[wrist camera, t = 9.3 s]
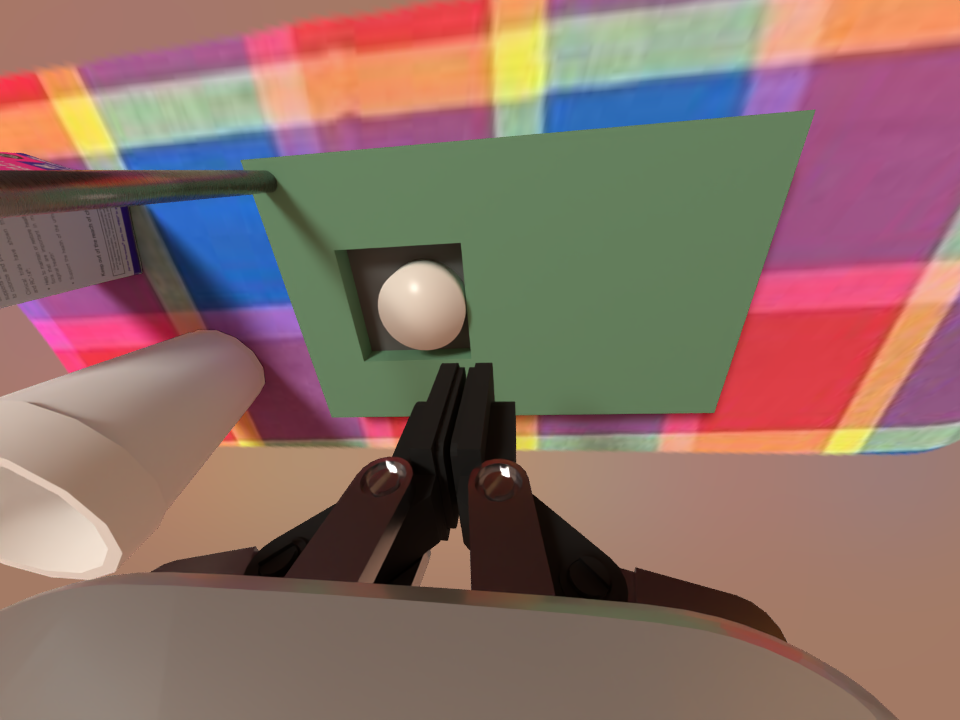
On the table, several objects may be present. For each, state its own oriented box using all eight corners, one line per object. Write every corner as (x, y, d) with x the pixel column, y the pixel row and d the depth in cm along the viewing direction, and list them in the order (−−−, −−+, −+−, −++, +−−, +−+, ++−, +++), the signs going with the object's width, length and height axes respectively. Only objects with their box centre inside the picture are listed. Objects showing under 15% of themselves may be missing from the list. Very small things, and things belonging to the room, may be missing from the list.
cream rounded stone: (459, 252, 20) (455, 260, 18) (474, 331, 22) (471, 345, 20) (378, 265, 20) (366, 274, 18) (400, 340, 23) (391, 354, 21)
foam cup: (288, 425, 28) (145, 594, 17) (177, 402, 28) (-45, 559, 17) (278, 324, 24) (73, 464, 13) (144, 295, 23) (-193, 413, 12)
